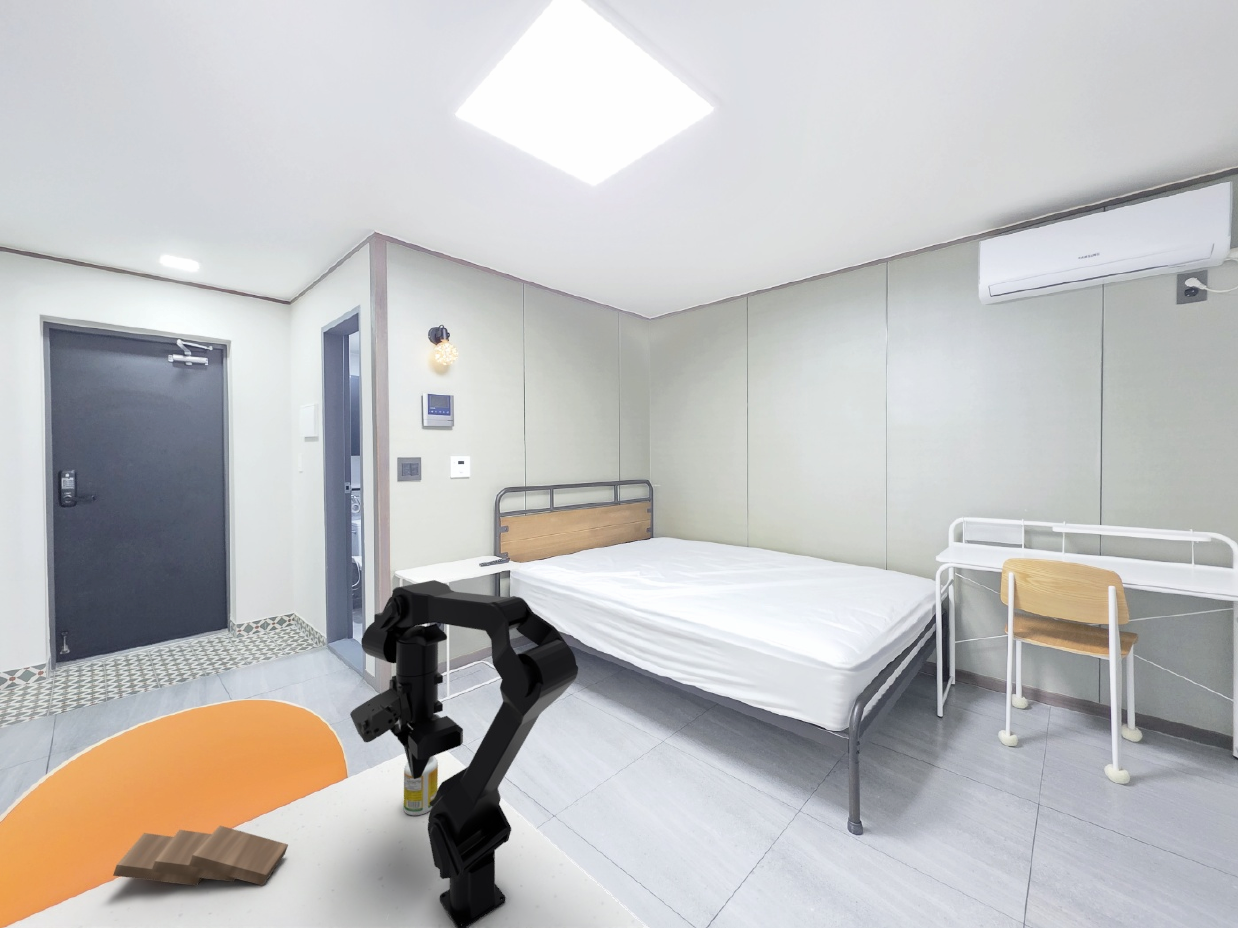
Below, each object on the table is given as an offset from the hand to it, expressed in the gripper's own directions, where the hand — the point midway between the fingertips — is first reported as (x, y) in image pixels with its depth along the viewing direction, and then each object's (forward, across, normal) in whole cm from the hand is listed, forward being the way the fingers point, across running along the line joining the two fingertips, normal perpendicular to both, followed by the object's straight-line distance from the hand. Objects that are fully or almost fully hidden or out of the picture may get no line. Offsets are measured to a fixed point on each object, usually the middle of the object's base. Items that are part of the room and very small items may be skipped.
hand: (416, 776), depth 72 cm
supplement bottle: (+12, -12, +5) cm, 18 cm away
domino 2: (+11, -15, -19) cm, 26 cm away
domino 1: (+11, -18, -22) cm, 31 cm away
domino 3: (+11, -11, -16) cm, 22 cm away
